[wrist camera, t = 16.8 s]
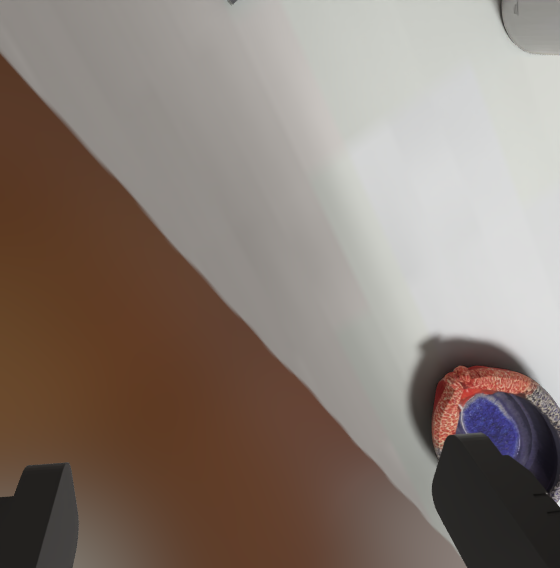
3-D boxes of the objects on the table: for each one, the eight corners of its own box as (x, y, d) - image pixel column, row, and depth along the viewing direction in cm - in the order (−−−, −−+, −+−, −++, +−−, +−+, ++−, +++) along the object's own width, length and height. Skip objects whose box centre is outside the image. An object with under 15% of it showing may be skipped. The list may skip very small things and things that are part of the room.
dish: (475, 517, 70) (494, 549, 65) (387, 383, 56) (405, 412, 51) (572, 463, 68) (598, 492, 64) (507, 311, 54) (536, 335, 50)
